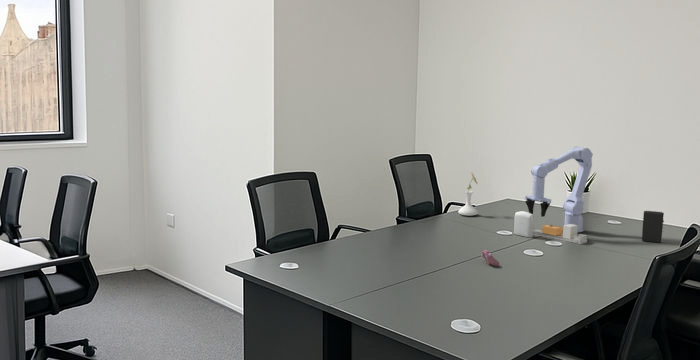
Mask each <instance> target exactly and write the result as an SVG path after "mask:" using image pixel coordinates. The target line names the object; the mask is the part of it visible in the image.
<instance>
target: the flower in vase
mask: <svg viewBox="0 0 700 360" xmlns="http://www.w3.org/2000/svg"><path fill="white" fill-rule="evenodd" d="M470 175H471V180H470V181H469V184H468V187H467V188H466V189H467V190H465V191H464V193H465V196H466V203H465V205H463V206H462V207H461V208H460V209H459V210H458V211H457V212H458V214H459V215H461V216H469V217H470V216H476V215H478V214H479V212H478V210H477V209H476V208H475V207H474V206H473V205H472V204H471V199H472V195H473V193H474V191H473V190H470V189H472V186H471V182H472V181H474V183H475V184H476V185H478V184H479V183H478V181H477V178H476V177H475V174H474V173H473V172H472V171H471V172H470Z"/></svg>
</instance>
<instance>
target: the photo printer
mask: <svg viewBox="0 0 700 360" xmlns="http://www.w3.org/2000/svg"><path fill="white" fill-rule="evenodd" d="M513 221H514V223H513V235H516V236H521V237H525V238H533V237H534V234H533V230H534V227H535V225H534V223H535V216H534V215H533V214H531V213H529V211H523V210H522V211H521V210H520V211H516V212H515V214H514V220H513Z"/></svg>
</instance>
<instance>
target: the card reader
mask: <svg viewBox="0 0 700 360" xmlns="http://www.w3.org/2000/svg"><path fill="white" fill-rule="evenodd" d="M664 214H665V213H664V212H662V211H655V210H643V218H642V233H641V241H642V242H647V243H649V242H650V243H656V244H657V243H662V236H663V229H664V228H663V227H664V221H665V220H664Z"/></svg>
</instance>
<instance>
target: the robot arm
mask: <svg viewBox="0 0 700 360" xmlns="http://www.w3.org/2000/svg"><path fill="white" fill-rule="evenodd" d="M593 155H594V153H593V152H592V150H591V149H590V148H589V147H581V146H574V147H572V148H569V150H567V151H565V152H564V153H562V154H561V155H558V156H557V157H556V158H553V157H549V158H548V159H547V160H546V161H544V162H540V163H539V165H538V164H536V165H534V166H533V167H532V170H531V171H530V172H531V175H532V195H524V200H525V204H526V206H527V209H528V213H531V214H532V215H533V214H534V208H535V203H536V202H540V209H541V210H540V211H541V212H540V215H541V217H543V218H545V217H546V213H547V211H548V209H549V207H550V205H551V203H552V199H550V198H547V197H545V182H546V180H545V179H546V177H547V176H548V174H549V173H551V172H553V171H554V170H556V169H559V165H561V164H563V163H565V162H568V161H569V160H573V159H574V160H575V161H576V162H577V164H578V165H579V169H578V171H577V175H576V179H575V180H574V184H573V187H572V190H571V194H570V195H569V196H568V197H566V200H565V201H564V203H563V205H562V210H563V211H564V225H568V224H573V225H578V228H577V234H578V233H581V232H584V231H585V230H584V229H583V227H584V222H583V221H584V217H583V215H582V213H583V211H584V204H585V203H584V200H583V194H584V192H585V189H586V186H587V183H588V180H589V176H590V172H591V171H592V167H593V159H592V158H593Z"/></svg>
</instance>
